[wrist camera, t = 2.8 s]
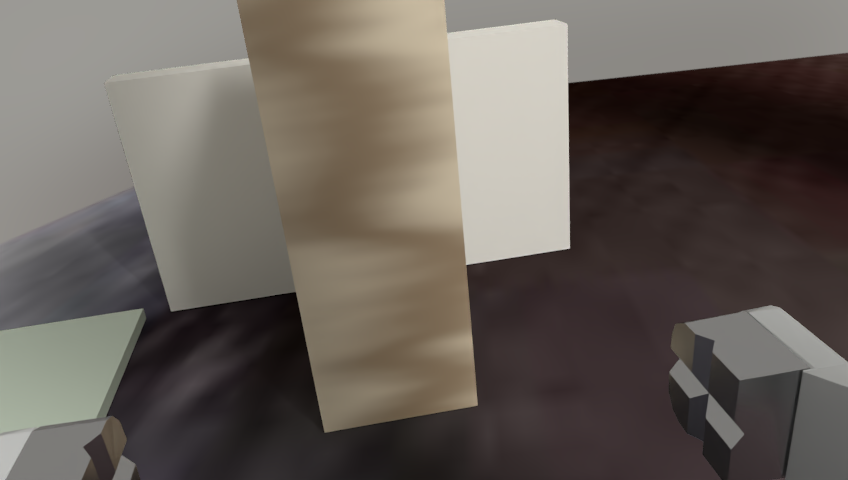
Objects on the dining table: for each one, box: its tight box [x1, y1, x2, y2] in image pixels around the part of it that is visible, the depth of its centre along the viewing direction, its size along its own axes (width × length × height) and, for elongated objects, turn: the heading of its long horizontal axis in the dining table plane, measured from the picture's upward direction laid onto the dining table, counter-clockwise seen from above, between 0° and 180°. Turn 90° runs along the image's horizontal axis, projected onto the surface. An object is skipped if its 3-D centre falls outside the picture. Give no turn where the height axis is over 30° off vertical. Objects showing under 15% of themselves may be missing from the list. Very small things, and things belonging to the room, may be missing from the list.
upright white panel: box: [104, 19, 570, 312], centre depth 30 cm, size 18×2×10 cm, turn 99°
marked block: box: [237, 0, 478, 433], centre depth 22 cm, size 5×5×14 cm
